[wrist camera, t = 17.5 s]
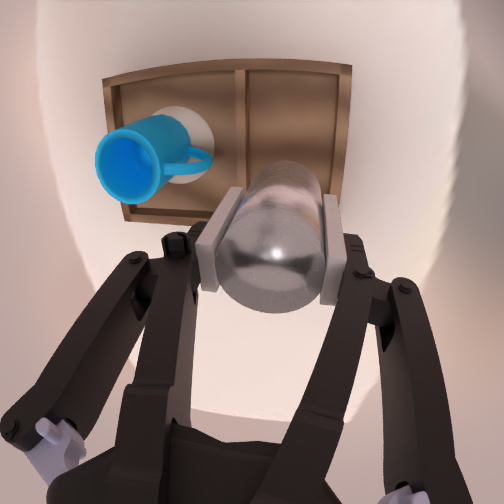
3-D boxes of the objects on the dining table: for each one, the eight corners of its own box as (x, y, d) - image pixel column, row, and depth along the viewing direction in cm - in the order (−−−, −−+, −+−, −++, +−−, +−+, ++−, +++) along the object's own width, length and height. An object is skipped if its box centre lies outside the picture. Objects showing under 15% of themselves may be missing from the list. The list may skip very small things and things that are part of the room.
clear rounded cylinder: (250, 158, 19) (210, 218, 12) (324, 164, 18) (334, 230, 11) (250, 222, 22) (218, 306, 15) (317, 228, 21) (316, 318, 14)
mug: (134, 172, 35) (98, 198, 29) (133, 113, 30) (92, 128, 24) (219, 185, 34) (196, 216, 28) (226, 120, 29) (201, 135, 23)
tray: (116, 77, 29) (102, 79, 26) (348, 66, 25) (352, 65, 22) (135, 211, 40) (124, 221, 38) (332, 226, 36) (333, 238, 34)
